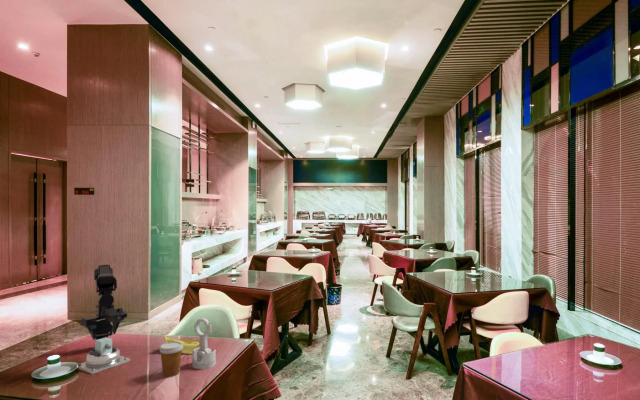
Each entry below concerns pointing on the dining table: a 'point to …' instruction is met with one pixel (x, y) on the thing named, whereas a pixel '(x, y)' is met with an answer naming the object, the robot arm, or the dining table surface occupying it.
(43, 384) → the dining table surface
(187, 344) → the plastic component
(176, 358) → the disposable coffee cup
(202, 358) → the engine component
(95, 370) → the metal mounting base
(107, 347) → the block with peg
